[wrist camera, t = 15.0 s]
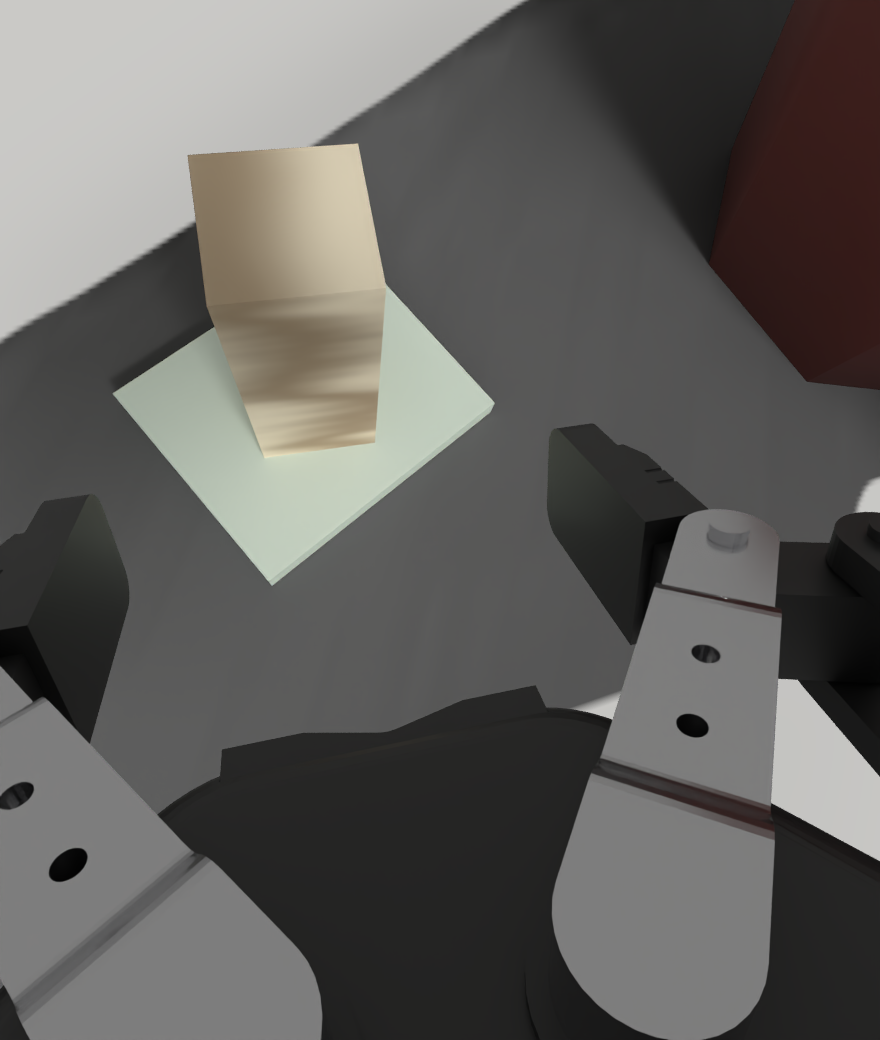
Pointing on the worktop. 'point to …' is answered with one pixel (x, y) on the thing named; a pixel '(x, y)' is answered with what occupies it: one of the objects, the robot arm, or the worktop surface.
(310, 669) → the worktop surface
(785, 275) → the bucket
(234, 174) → the maple block
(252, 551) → the sage board
